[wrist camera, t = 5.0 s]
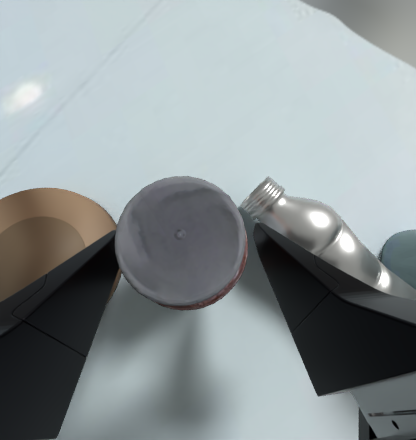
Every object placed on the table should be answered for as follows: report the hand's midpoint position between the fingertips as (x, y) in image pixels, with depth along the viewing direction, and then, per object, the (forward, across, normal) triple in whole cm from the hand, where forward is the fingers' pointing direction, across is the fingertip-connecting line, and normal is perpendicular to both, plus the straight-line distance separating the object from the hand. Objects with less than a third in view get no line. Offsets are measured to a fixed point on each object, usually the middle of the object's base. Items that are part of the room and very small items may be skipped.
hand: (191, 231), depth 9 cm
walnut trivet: (+4, +14, +6) cm, 15 cm away
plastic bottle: (-5, -20, +10) cm, 23 cm away
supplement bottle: (+4, 0, +6) cm, 7 cm away
